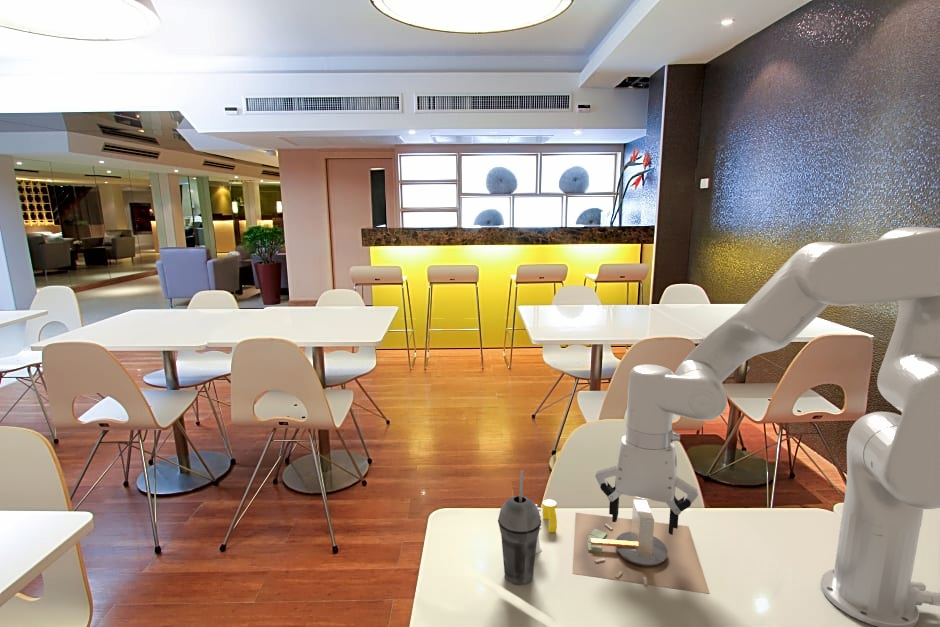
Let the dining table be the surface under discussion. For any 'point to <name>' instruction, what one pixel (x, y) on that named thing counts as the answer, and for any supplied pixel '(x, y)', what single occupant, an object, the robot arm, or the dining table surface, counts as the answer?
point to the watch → (550, 514)
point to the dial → (638, 539)
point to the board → (606, 563)
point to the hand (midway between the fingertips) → (642, 524)
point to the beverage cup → (519, 536)
